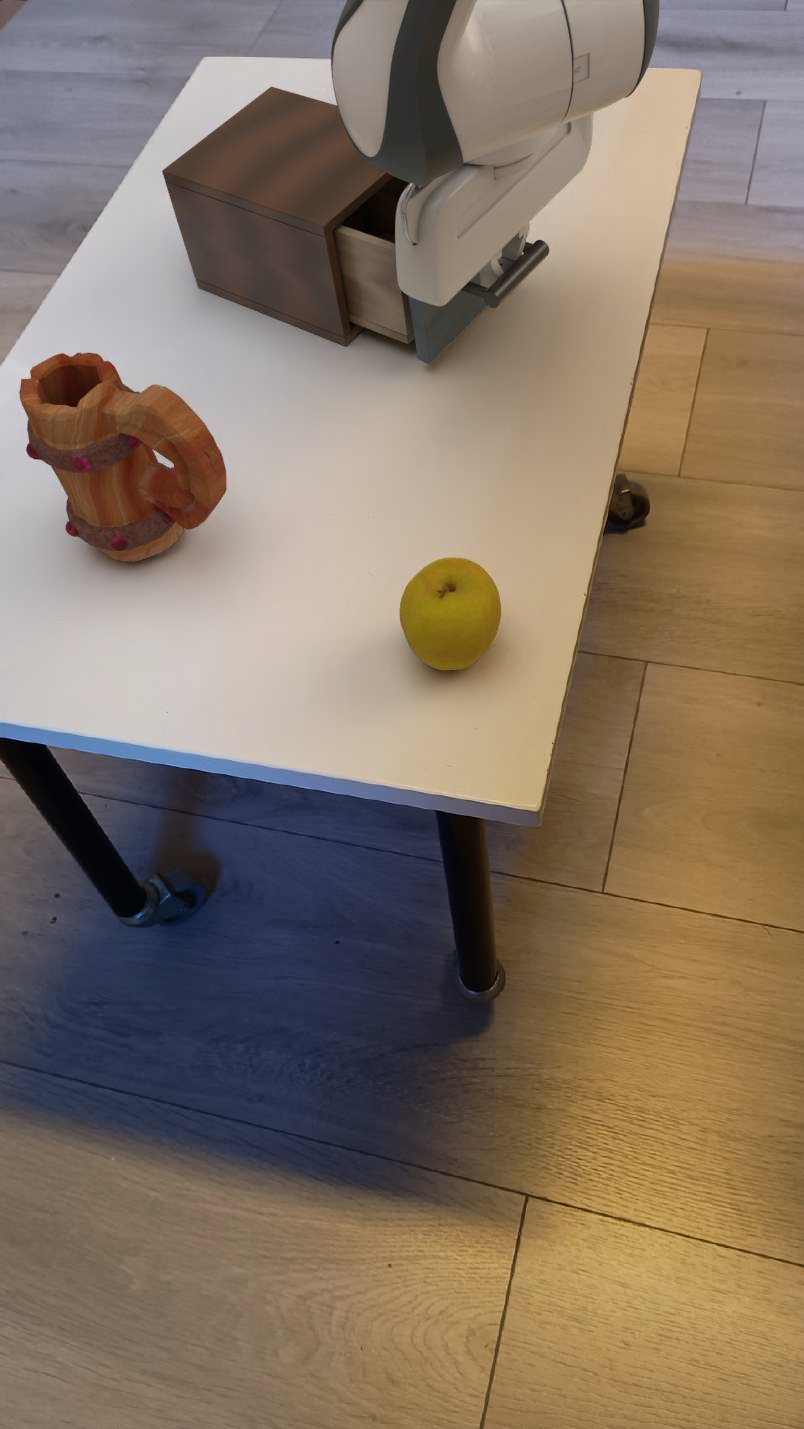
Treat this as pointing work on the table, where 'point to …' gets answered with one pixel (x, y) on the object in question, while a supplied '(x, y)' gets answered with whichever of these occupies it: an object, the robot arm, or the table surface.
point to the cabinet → (274, 209)
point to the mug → (121, 455)
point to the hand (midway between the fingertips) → (501, 284)
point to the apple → (450, 613)
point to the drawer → (376, 288)
